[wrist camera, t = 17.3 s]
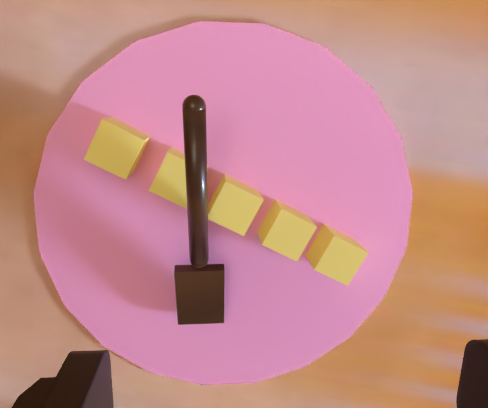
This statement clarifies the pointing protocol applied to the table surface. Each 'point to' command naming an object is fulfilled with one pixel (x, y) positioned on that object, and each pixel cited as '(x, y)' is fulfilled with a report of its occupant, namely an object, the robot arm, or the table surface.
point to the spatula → (198, 229)
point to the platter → (224, 201)
